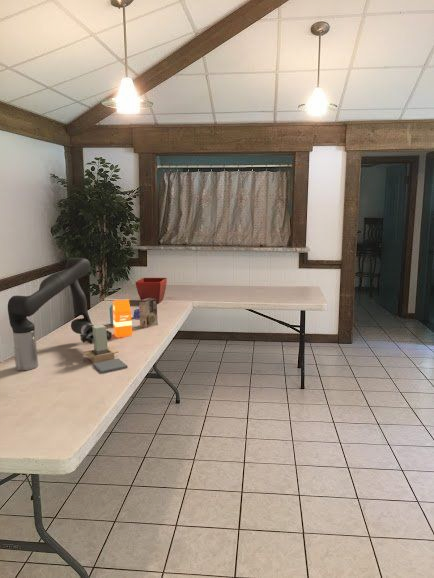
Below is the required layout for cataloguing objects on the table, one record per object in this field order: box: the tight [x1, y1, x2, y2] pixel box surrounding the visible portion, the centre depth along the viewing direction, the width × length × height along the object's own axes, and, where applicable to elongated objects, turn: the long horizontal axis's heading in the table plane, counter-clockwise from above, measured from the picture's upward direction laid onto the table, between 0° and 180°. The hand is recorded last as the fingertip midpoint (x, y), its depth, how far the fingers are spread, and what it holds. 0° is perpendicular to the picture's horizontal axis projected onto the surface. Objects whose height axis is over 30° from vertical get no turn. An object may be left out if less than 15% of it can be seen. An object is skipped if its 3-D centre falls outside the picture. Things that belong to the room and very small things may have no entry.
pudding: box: [131, 308, 140, 320], centre depth 298 cm, size 12×12×5 cm
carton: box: [82, 346, 120, 364], centre depth 219 cm, size 15×10×4 cm, turn 122°
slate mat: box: [92, 358, 128, 374], centre depth 208 cm, size 12×12×1 cm
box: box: [92, 324, 108, 355], centre depth 218 cm, size 5×5×16 cm
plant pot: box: [135, 277, 168, 304], centre depth 342 cm, size 19×19×17 cm
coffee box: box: [138, 298, 159, 329], centre depth 276 cm, size 9×6×16 cm
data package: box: [109, 304, 114, 326], centre depth 281 cm, size 12×4×12 cm, turn 96°
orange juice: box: [112, 298, 133, 338], centre depth 257 cm, size 8×9×20 cm
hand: (100, 339), depth 217 cm, fingers open, 8 cm apart
